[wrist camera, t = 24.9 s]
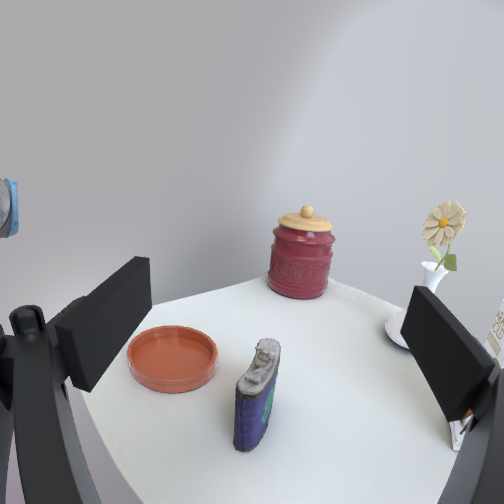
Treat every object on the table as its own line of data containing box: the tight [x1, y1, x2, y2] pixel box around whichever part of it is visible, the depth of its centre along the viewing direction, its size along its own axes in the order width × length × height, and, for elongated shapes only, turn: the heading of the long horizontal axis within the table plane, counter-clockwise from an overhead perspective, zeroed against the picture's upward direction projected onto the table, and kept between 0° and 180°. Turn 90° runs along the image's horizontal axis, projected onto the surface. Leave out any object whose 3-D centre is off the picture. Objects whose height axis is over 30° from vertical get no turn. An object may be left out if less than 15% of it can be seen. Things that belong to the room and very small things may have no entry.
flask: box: [233, 338, 281, 452], centre depth 28 cm, size 9×3×11 cm, turn 163°
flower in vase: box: [385, 200, 467, 349], centre depth 41 cm, size 13×11×25 cm
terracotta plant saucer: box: [127, 326, 218, 393], centre depth 37 cm, size 12×12×2 cm
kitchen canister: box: [268, 206, 335, 299], centre depth 62 cm, size 13×13×18 cm
